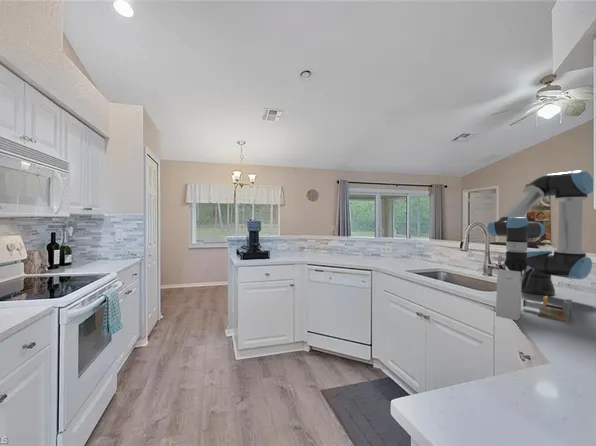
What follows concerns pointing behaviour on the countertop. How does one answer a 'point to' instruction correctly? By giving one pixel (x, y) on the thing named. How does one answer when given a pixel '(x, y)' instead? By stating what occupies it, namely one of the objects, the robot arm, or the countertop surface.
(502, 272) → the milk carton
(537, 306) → the plunger
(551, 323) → the countertop surface
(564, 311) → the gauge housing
